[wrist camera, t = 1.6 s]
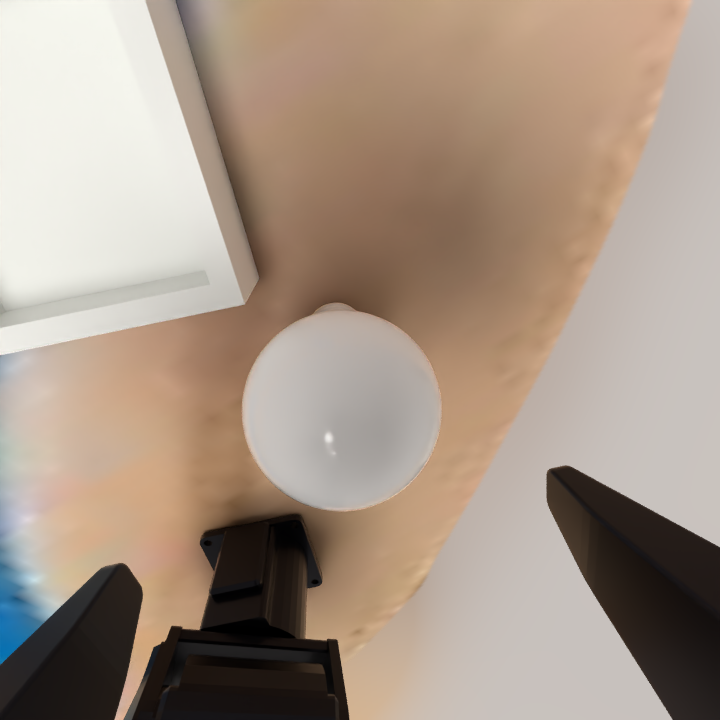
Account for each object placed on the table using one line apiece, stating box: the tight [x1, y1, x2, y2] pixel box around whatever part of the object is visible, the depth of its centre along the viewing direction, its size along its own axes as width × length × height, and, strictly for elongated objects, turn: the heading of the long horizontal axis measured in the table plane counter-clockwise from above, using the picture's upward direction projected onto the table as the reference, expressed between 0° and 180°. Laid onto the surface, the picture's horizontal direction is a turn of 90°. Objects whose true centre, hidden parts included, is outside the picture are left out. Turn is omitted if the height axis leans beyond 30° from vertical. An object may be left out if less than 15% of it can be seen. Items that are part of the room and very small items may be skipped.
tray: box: [0, 0, 259, 355], centre depth 15 cm, size 12×12×4 cm
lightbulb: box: [242, 302, 442, 511], centre depth 15 cm, size 6×6×11 cm
